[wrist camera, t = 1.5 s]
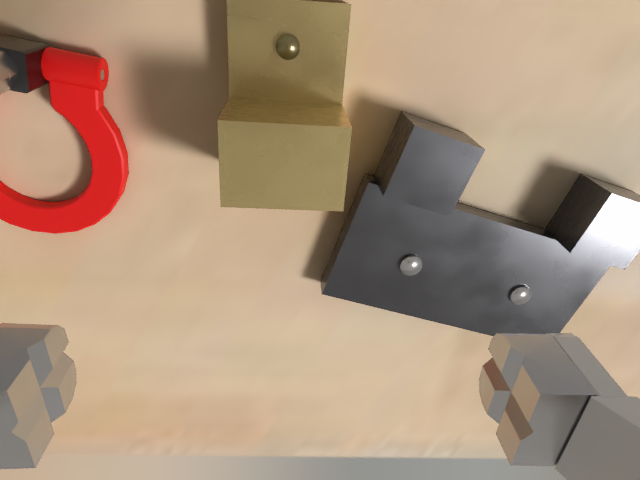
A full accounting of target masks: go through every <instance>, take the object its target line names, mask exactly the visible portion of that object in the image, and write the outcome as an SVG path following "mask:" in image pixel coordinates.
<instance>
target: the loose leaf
mask: <svg viewBox="0 0 640 480" xmlns="http://www.w3.org/2000/svg"><path fill="white" fill-rule="evenodd" d="M350 11H351V4H348V3H336V2H323V1H310V0H227V34H228V71H229V99H228V101H227V103H226V105H225V107H224V109H223V110H222V112H221V114H220V116H219V118H218V120H217V126H218V151H219V175H220V200H221V207H239V208H265V209H292V210H319V211H344V201H345V191H346V182H347V172H348V163H349V153H350V144H351V134H352V126H351V124H350V121H349V119H348V117H347V115H346V112H345V110H344V108H343V106H342V98H343V87H344V76H345V65H346V55H347V44H348V33H349V22H350Z"/></svg>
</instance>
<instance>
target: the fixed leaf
mask: <svg viewBox="0 0 640 480" xmlns="http://www.w3.org/2000/svg"><path fill="white" fill-rule="evenodd" d="M484 151H485V149H484V148H482V147H481V146H480V145H479V144H478V143H476V142H475V141H474V140H473V139H472V138H470V137H469V136H468V135H467V134H466V133H463V132H460V131H457V130H454V129H452V128H449V127H446V126H443V125H440V124H437V123H434V122H432V121H429V120H426V119H423V118H420V117H417V116H414V115H411V114H409V113H406V112H403V111H401V113H400V116H399V118H398V121H397V123H396V125H395V128H394V130H393V132H392V135H391V137H390V140H389V142H388V144H387V147H386V149H385V151H384V154H383V156H382V159H381V161H380V163H379V166H378V168H377V170H376V173H375V175H374V176H371V175H368V174H365V175H364V177H363V180H362V182H361V185H360V187H359V189H358V192H357V194H356V197H355V199H354V202H353V204H352V207H351V209H350V211H349V214H348V216H347V219H346V221H345V224H344V226H343V228H342V231H341V233H340V236H339V238H338V241H337V243H336V246H335V248H334V250H333V253H332V255H331V258H330V260H329V263H328V265H327V267H326V270H325V272H324V275H323V277H322V280H321V290H322V294H324V295H328V296H332V297H336V298H340V299H344V300H348V301H353V302H357V303H361V304H365V305H369V306H373V307H377V308H381V309H385V310H389V311H393V312H397V313H401V314H405V315H410V316H414V317H418V318H422V319H426V320H430V321H434V322H438V323H442V324H446V325H450V326H454V327H458V328H462V329H466V330H471V331H475V332H479V333H483V334H487V335H491V336H495V334H496V333H514V334H546V333H560V332H561V330H562V329H563V328H564V326H565V325H566V324H567V322H568V321H569V320H570V318H571V317H572V316H573V314H574V313H575V312H576V311H577V309H578V308H579V307H580V305H581V304H582V303H583V301H584V300H585V299H586V297H587V296H588V295H589V293H590V292H591V291H592V289H593V288H594V287H595V285H596V284H597V283H598V281H599V280H600V279H601V277H602V276H603V275H604V273H605V272H606V271H607V269H608V268H609V267H610V266H614V267H617V268H621V269H624V270H625V269H626V268H627V267H628V265H629V264H630V263H631V261H632V260H633V259H634V258H635V256H636V255H637V254H638V252H639V251H640V195H638V194H636V193H635V192H632V191H629V190H627V189H624V188H621V187H618V186H615V185H612V184H609V183H607V182H604V181H601V180H598V179H595V178H592V177H589V176H586V175H584V174H581V175H580V177H579V178H578V180H577V181H576V183H575V184H574V186H573V187H572V189H571V191H570V192H569V194H568V195H567V197H566V198H565V200H564V201H563V203H562V204H561V206H560V207H559V209H558V211H557V212H556V214H555V215H554V217H553V218H552V220H551V221H550V223H549V224H548V226H547V228H546V229H542V228H538V227H535V226H532V225H529V224H526V223H522V222H519V221H516V220H513V219H510V218H506V217H503V216H500V215H497V214H493V213H490V212H487V211H484V210H481V209H477V208H474V207H471V206H468V205H465V204H461V203H458V200H459V198H460V196H461V194H462V192H463V191H464V189H465V187H466V185H467V183H468V181H469V179H470V177H471V175H472V174H473V172H474V170H475V168H476V166H477V164H478V162H479V160H480V158H481V157H482V155H483V153H484Z"/></svg>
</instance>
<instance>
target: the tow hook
mask: <svg viewBox="0 0 640 480" xmlns="http://www.w3.org/2000/svg"><path fill="white" fill-rule="evenodd" d="M108 73H109V71H108V64H107V61H106V59H104V58H101V57H96V56H91V55H86V54H81V53H77V52H72V51H67V50H62V49H57V48H52V47H51V46H50V45H48V44H45V43H40V42H35V41H31V40H26V39H21V38H16V37H11V36H7V35H2V34H0V94H1V93H3V92H6V91H8V90H12V91H17V92H23V93H29V92H31V91H33V90H35V89H37V88H39V87H41V86H43V85H45V84H47V83H49V90H50V101H51V105H52V107H53V108H54V109H55V111H57V112H58V113H60V114H61V115H63V116H64V117H65V118H66V119H67V120H68V121H69V122H70V123H71V124H72V125H73V126H74V127H75V128H76V129H77V131H78V132H79V134H80V135H81V137H82V138H83V140H84V141H85V143H86V146H87V148H88V151H89V153H90V156H91V164H92V174H91V179H90V183H89V185H88V187H87V188H86V190H85V191H84V192H83V193H82V194H80V195H79V196H77V197H75V198H72V199H70V200H67V201H59V202H47V201H39V200H35V199H32V198H29V197H26V196H23V195H21V194H19V193H17V192H16V191H14V190H12V189H10V188H8V187H7V186H6V185H5V184H3V183H2V182H1V181H0V219H1V220H3V221H5V222H7V223H9V224H12V225H15V226H18V227H22V228H25V229H28V230H31V231H38V232H46V233H65V232H74V231H78V230H81V229H84V228H86V227H89V226H92V225H94V224H96V223H97V222H99V221H100V220H101V219H102V218H104V217H105V216H106V215H108V214H109V213H110V212H111V210H112V209H113V208H114V206H115V205H116V203H117V202H118V200H119V199H120V197H121V196H122V194H123V193H124V190H125V186H126V182H127V178H128V174H129V171H128V153H127V150H126V147H125V144H124V141H123V138H122V135H121V132H120V130H119V128H118V126H117V125H116V123H115V122H114V120H113V118H112V117H111V115H110V114H109V112H108V110H107V109H106V108H105V107H104V102H103V91H104V90H105V88H106V86H107V82H108Z"/></svg>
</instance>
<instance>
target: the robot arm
mask: <svg viewBox="0 0 640 480" xmlns="http://www.w3.org/2000/svg"><path fill="white" fill-rule="evenodd" d="M68 343H69V341H68V338H67V335H66V332H65V329H64V328H62V327H60V326H58V325H37V324H12V323H1V324H0V469H18V468H36V466H37V464H38V462H39V461H40V459H41V457H42V455H43V453H44V452H45V450H46V448H47V446H48V444H49V442H50V440H51V439H52V437H53V435H54V432H53V428H52V425H51V423H52V422H53V421H54V420H56V419H57V418H59V417H60V416H61V415H63V414H64V413H66V411H67V409H68V407H69V405H70V403H71V401H72V399H73V395H74V390H75V386H76V368H75V364H74V361H73V360H72V359H71V358H70V357H69V356H67V355H66V354H65V353H64V352H63V351H64V349H65V348H66V346H67V345H68ZM488 349H489V351H490V353H491V355H492V357H493V358H491V359H490V360H489V361H488V362H487V363H485V364H484V365H483V366H482V370H481V374H480V377H479V392H480V397H481V401H482V404H483V406H484V409H485V411H486V413H487V414H488V415H489V416H490V417H491V418H493V419H494V420H495V421H496V422H498V423H499V426H498V429H497V432H496V435H497V437H498V439H499V442H500V444H501V446H502V448H503V450H504V452H505V454H506V457H507V459H508V461H509V463H510V465H522V466H523V465H524V466H556V468H555V469H556V470H557V471H558V472H559V473H560V474H561V475H563V477H565V478H566V479H567V480H640V399H639V398H637V397H628V396H627V395H626V394H625V393H624V391H623V390H622V389H621V388H620V387H619V385H618V384H617V383H616V382H615V381H614V379H613V378H612V377H611V376H610V375H609V373H608V372H607V371H606V370H605V368H604V367H603V366H602V365H601V364H600V362H599V361H598V360H597V359H596V358H595V356H594V355H593V354H592V353H591V352H590V350H589V349H588V348H587V347H586V346H585V344H584V343H583V342H582V341H581V340H580V338H579V337H577V336H575V335H574V334H572V333H546V334H514V333H496V334H495V336H494V337H493V338H492V339H491V342H490V345H489V348H488Z"/></svg>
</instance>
